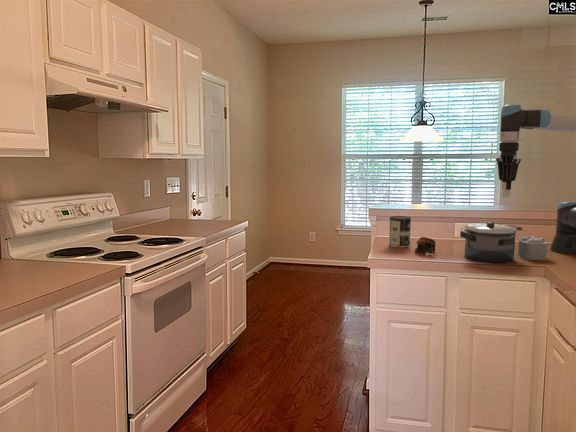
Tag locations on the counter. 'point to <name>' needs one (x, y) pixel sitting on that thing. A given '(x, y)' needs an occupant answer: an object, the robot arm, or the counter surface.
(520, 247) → the lumpy-topped squat cylinder
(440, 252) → the counter surface
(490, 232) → the lid
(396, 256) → the counter surface
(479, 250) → the pot
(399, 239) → the coffee can
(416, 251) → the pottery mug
